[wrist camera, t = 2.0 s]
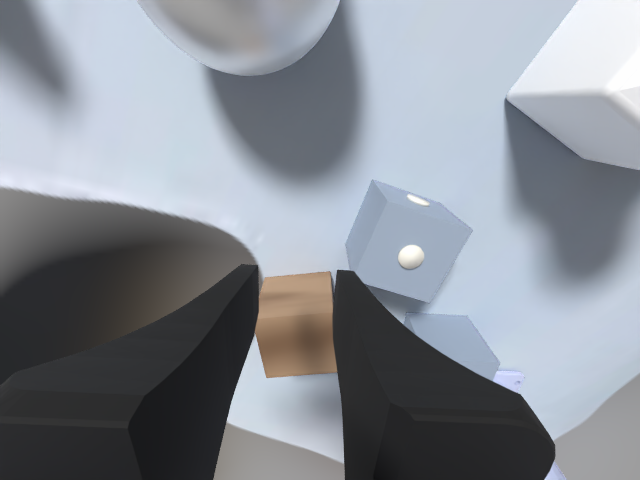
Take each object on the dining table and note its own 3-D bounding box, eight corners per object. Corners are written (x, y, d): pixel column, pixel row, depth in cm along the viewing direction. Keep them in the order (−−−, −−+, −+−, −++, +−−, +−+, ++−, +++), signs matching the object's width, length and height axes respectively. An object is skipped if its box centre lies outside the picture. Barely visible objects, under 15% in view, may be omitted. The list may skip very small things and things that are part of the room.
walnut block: (335, 323, 25) (339, 372, 20) (275, 328, 25) (266, 378, 21) (330, 270, 23) (332, 312, 18) (265, 276, 23) (251, 319, 19)
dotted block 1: (407, 263, 23) (430, 305, 18) (345, 243, 22) (352, 281, 17) (440, 199, 21) (476, 228, 16) (373, 176, 20) (390, 198, 15)
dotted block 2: (451, 360, 27) (480, 416, 22) (395, 358, 27) (412, 413, 22) (466, 315, 25) (501, 365, 20) (406, 311, 25) (427, 361, 20)
